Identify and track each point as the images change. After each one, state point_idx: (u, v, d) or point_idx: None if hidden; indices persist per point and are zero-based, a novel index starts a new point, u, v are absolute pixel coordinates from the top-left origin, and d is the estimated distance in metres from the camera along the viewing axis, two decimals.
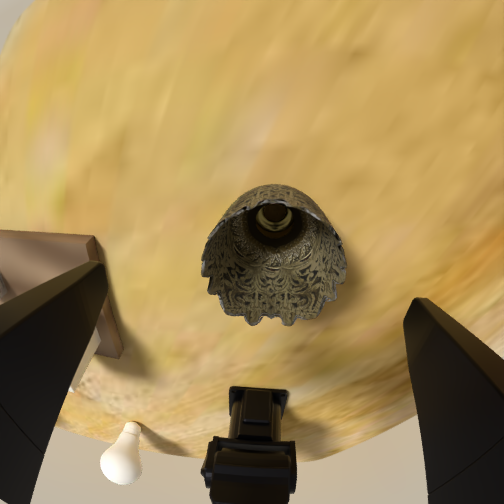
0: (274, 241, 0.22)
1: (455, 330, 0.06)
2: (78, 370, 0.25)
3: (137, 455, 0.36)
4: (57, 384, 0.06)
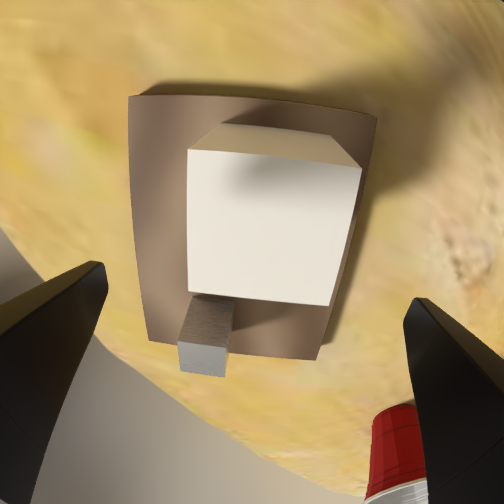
0: None
1: (455, 330, 0.06)
2: (325, 151, 0.12)
3: None
4: (57, 384, 0.06)
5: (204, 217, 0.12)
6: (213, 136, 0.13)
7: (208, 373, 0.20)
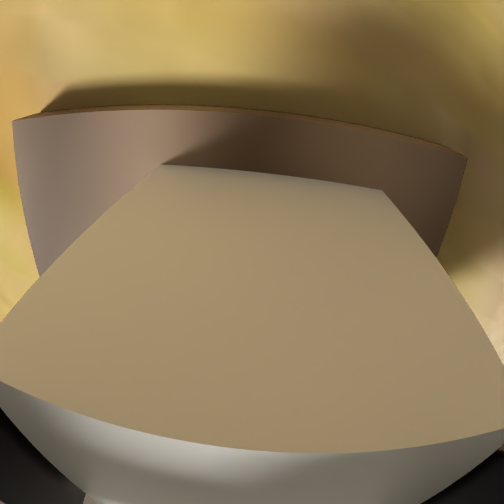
0: None
1: None
2: (416, 310, 0.04)
3: None
4: None
5: (87, 478, 0.03)
6: (97, 241, 0.04)
7: None
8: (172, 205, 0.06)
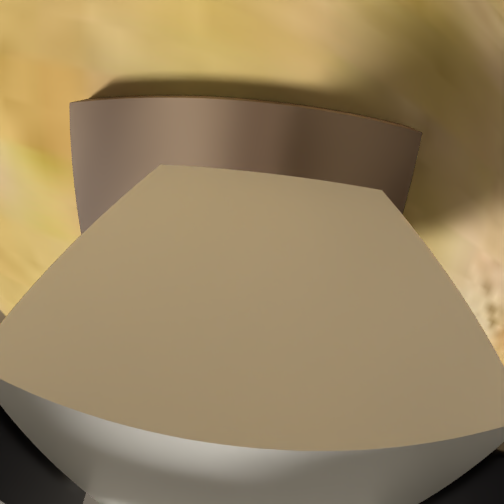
0: None
1: None
2: (415, 309, 0.04)
3: None
4: None
5: (88, 477, 0.03)
6: (98, 241, 0.05)
7: None
8: (172, 205, 0.06)
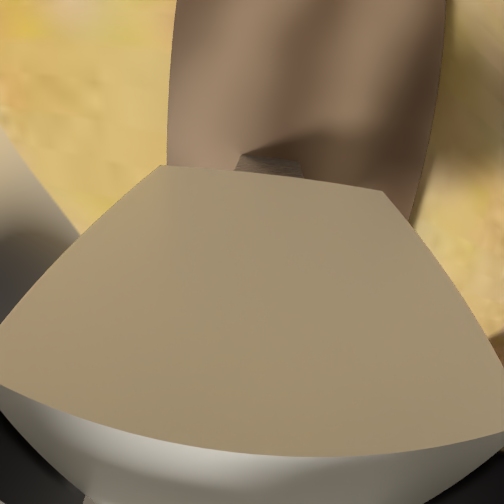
0: None
1: None
2: (417, 312, 0.04)
3: None
4: None
5: (87, 480, 0.03)
6: (97, 243, 0.04)
7: None
8: (171, 206, 0.06)
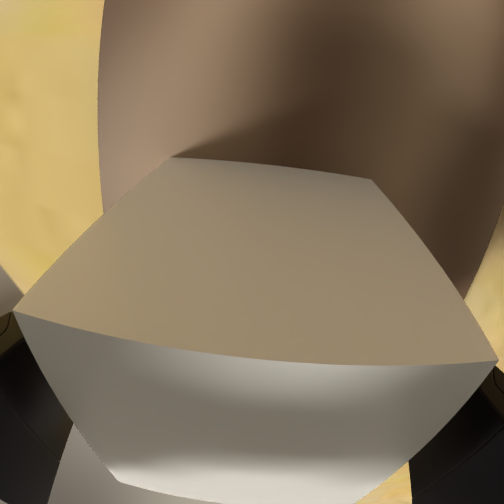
0: None
1: None
2: (394, 269, 0.05)
3: None
4: None
5: (104, 430, 0.04)
6: (121, 216, 0.05)
7: None
8: (184, 189, 0.07)
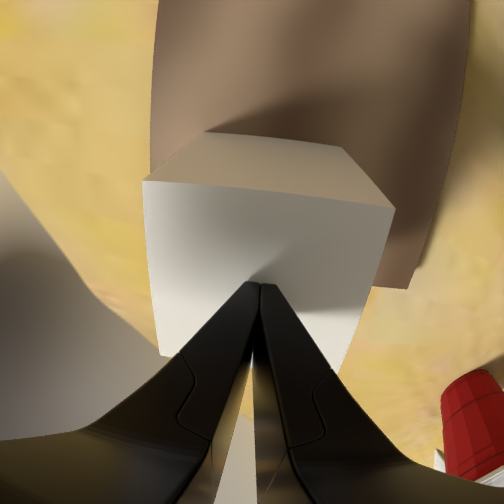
0: None
1: (279, 320, 0.07)
2: (340, 177, 0.09)
3: None
4: (233, 425, 0.06)
5: (172, 273, 0.08)
6: (187, 154, 0.09)
7: None
8: (219, 145, 0.11)
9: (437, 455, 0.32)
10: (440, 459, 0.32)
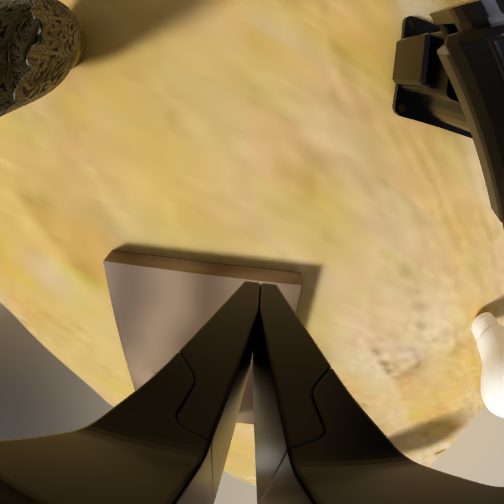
0: None
1: (279, 320, 0.07)
2: None
3: None
4: (233, 425, 0.06)
5: None
6: None
7: None
8: None
9: None
10: None
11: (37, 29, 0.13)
